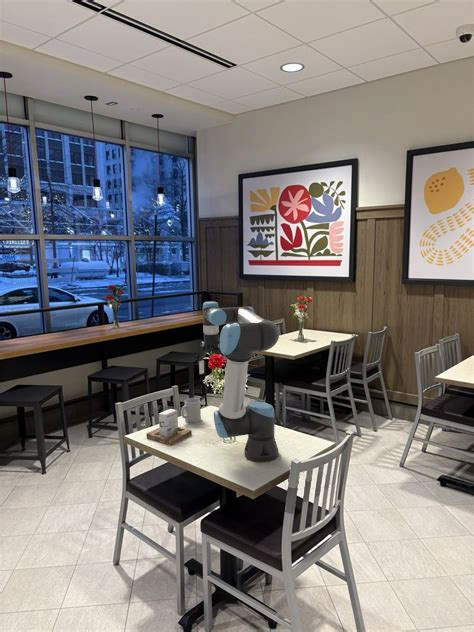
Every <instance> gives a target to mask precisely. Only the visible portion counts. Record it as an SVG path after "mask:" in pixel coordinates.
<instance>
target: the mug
mask: <svg viewBox="0 0 474 632" xmlns="http://www.w3.org/2000/svg"><path fill="white" fill-rule="evenodd" d="M201 413H202V412H201V399H200V398H198V397H191V398H190V397H188V398H186V399H185V400H184V405H183V406H182V407H181V413H180V415H181V417H182V419H184V421H185V422H186V423H190V424H192V423H198V422H201V420H202V416H201V415H202V414H201Z"/></svg>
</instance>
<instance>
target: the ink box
mask: <svg viewBox="0 0 474 632" xmlns="http://www.w3.org/2000/svg"><path fill="white" fill-rule="evenodd" d="M178 415H179V414H178V410H177V409H172V408H169V409H167V410H164V411H162V412H160V413H158V422H159V423H158V426H159V427H158V428H159V429H160V436H161V437H164V438H168V437H170V436H172V435H174V434H176V433H178V427H179V421H178V418H179V417H178Z"/></svg>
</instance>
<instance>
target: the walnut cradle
mask: <svg viewBox="0 0 474 632" xmlns="http://www.w3.org/2000/svg"><path fill="white" fill-rule="evenodd" d="M192 432H193V431H192V430H191V429H188V428H185V427H181V426H178V433H176V434H174V435H172V436H170V437H168V438H164V437H161V436H160V429H159V427H158V428H156V429H153V430H151V431H149V432H147V433H146V439H149V440H153V441H157V442H159V443H162V444H166V445H169V446H172V445H175V444H176V443H177V442H180V441H183V440H184V439H186V438H188V437H190V436H192V434H193V433H192Z"/></svg>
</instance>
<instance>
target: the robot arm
mask: <svg viewBox="0 0 474 632" xmlns="http://www.w3.org/2000/svg"><path fill="white" fill-rule="evenodd" d="M202 320H203V321H202V323H203V325H202V327H203V330H202V331H203V340H202V341H200V342H198V345H199V346H198V349H197V352H196V353H195V356H194V359H195V360H196V361H197V365H198V368H199V369H198V370H199V375H203V374H205V361H204V358H205V357H206V355H207V354H208V353H212V352H213V354H214V353H215V354H214V355H216V354H221V355H222V356H224V357H225V359H226V363H225V365H224V368H225V367H226V371H225V377H224V386H223V387H224V388H223V396H222V397H223V399H222V402H221V403H220V404H219V406H218V410H214V411H213V422H214V427H215V431H216V433H217V435H218V437H219V438H221V439H224V438H225V439H228V438H235V437H240V436H247V441H246V444H245V447H244V450H243V451H244V457H245V458H246V459H248V460H249V461H253V462H257V463H265V462H266V463H267V462H271V461H274V460H276V459H277V458H279V454H280V453H279V447H278V444H277V441H276V438H275V418H276V416H275V408H274V407H273V405H272V404H270V403H267V402H263V401H250V402H248V403H247V405H246V406H245V405H244V402H245V395H246V394H245V392H246V391H245V390H246V386H247V385H246V384H247V376H248V367H249V362H250V361H251V360H252V359H253V357H254V353H260V352H266V351H269V350H270V349H273V348H274V346H276V344H277V342H278V341H279V340H280V339H279V338H280V329H279V328H278V326H277V324H276V323H274V322H273V321H272V320H269V319H264V318H262V317H260V315H257V314H256V312H255V309H254V307H252V306H240V307H239V306H237V307H219V302H216V301H204V303H203V304H202ZM222 325H224V326H223V327H222V329H221V331H220V330H219V329H220V328H219V326H222ZM219 332H220V334H219ZM211 351H212V352H211Z"/></svg>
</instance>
